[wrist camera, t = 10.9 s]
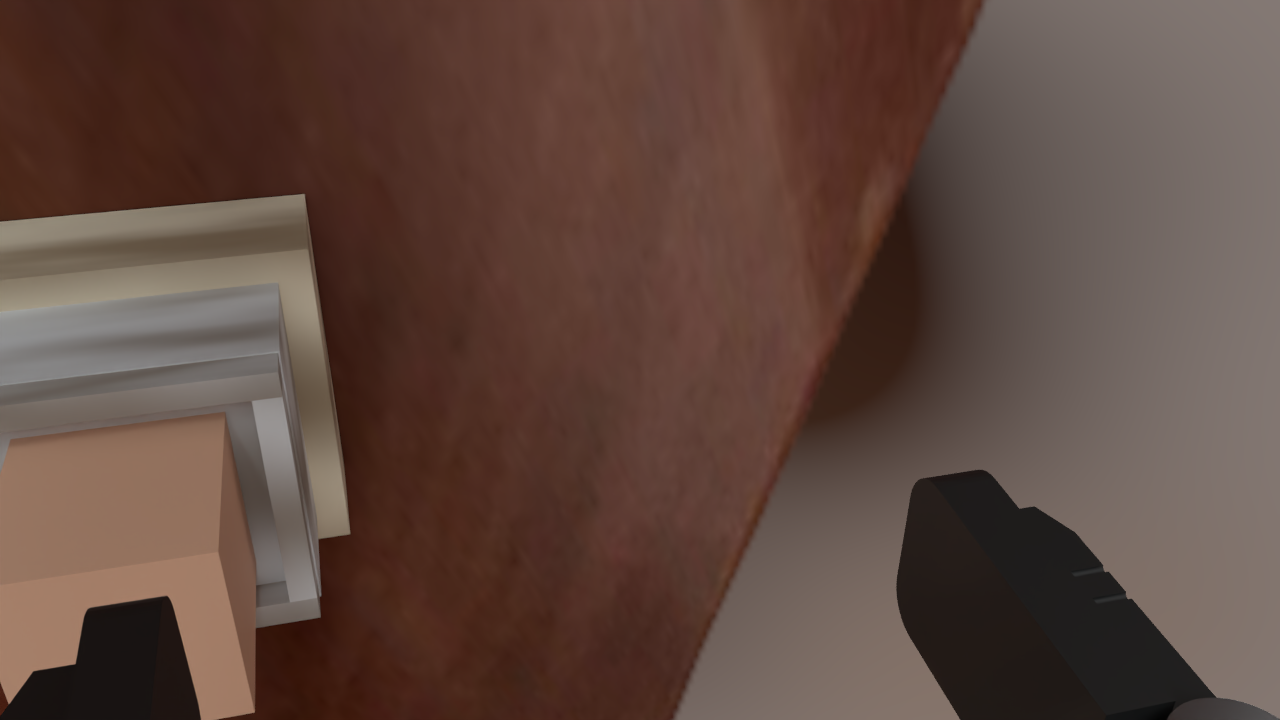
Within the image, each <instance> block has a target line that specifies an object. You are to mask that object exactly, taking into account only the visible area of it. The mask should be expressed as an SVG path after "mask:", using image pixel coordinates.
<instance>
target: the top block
mask: <svg viewBox="0 0 1280 720" xmlns="http://www.w3.org/2000/svg"><path fill="white" fill-rule="evenodd" d="M161 596H168V597H169V598H170V600H171V602H172V605H173V608H174V611H175V615H176V619H177V623H178V627H179V630H180V634H181V638H182V642H183V646H184V650H185V654H186V657H187V661H188V665H189V669H190V673H191V677H192V680H193V684H194V688H195V692H196V696H197V700H198V704H199V710H200V716H201V720H216V719H222V718H227V717H233V716H238V715H244V714H249V713H255V642H256V558H255V554H254V549H253V544H252V539H251V534H250V529H249V525H248V520H247V515H246V510H245V505H244V500H243V496H242V491H241V486H240V481H239V476H238V471H237V467H236V462H235V457H234V452H233V447H232V442H231V438H230V433H229V428H228V423H227V418H226V414H225V412H219V413H211V414H203V415H195V416H187V417H180V418H172V419H164V420H156V421H149V422H141V423H133V424H125V425H118V426H110V427H102V428H94V429H86V430H79V431H71V432H63V433H55V434H48V435H40V436H32V437H24V438H16V439H11V440H10V443H9V446H8V450H7V453H6V456H5V460H4V463H3V466H2V470H1V473H0V682H1V685H2V688H3V690H4V693H5V695H6V698H7V701H8V703H9V704H10V702H11V701H12V700H13V698H14V697H15V696H16V694H17V693H18V691H19V690H20V689H21V687H22V686H23V685H24V683H25V682H26V681H27V679H28V678H29V676H30V675H31V674H32V672H33V671H37V670H43V669H49V668H55V667H61V666H67V665H73V664H76V659H77V653H78V647H79V642H80V636H81V630H82V625H83V620H84V616H85V613H86V611H87V609H89V608H91V607H97V606H104V605H110V604H116V603H123V602H129V601H135V600H142V599H148V598H155V597H161Z"/></svg>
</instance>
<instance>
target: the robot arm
mask: <svg viewBox="0 0 1280 720" xmlns="http://www.w3.org/2000/svg"><path fill="white" fill-rule="evenodd" d="M897 600H898V606H899V610H900V614H901V618H902V621H903V623H904V626H905V628H906V631H907V633H908V634H909V636H910V638H911V640H912V641H913V643H914V644H915V646H916V648H917V650H918V651H919V653H920V654H921V656H922V658H923V659H924V661H925V663H926V664H927V666H928V668H929V669H930V671H931V672H932V674H933V675H934V677H935V679H936V681H937V682H938V684H939V685H940V687H941V689H942V690H943V692H944V694H945V695H946V697H947V698H948V700H949V701H950V703H951V705H952V706H953V708H954V710H955V711H956V713H957V715H958V716H959V718H960V720H1280V719H1279V718H1277V717H1275V716H1274V715H1272V714H1270V713H1268V712H1266V711H1264V710H1262V709H1260V708H1258V707H1255V706H1253V705H1250V704H1247V703H1244V702H1240V701H1236V700H1231V699H1223V698H1217V697H1216V696H1215V695H1214V694H1213V693H1212V692H1211V691H1210V690H1209V689H1208V687H1207V686H1206V685H1205V684H1204V683H1203V682H1202V681H1201V679H1200V678H1199V677H1198V676H1197V675H1196V673H1195V672H1194V671H1193V670H1192V669H1191V667H1190V666H1189V665H1188V664H1187V663H1186V662H1185V660H1184V659H1183V658H1182V657H1181V656H1180V655H1179V653H1178V652H1177V651H1176V650H1175V649H1174V648H1173V646H1171V644H1170V643H1169V642H1168V641H1167V639H1166V638H1165V637H1164V636H1163V635H1162V634H1161V632H1160V631H1159V630H1158V629H1157V628H1156V627H1155V626H1154V624H1152V622H1151V621H1150V620H1149V618H1148V617H1147V616H1146V615H1145V614H1144V612H1143V611H1142V610H1141V609H1140V608H1139V607H1138V606H1137V604H1136V603H1135V602H1134V601H1133V600H1132V599H1127V597H1126V591H1125V590H1124V589H1123V588H1122V587H1121V586H1120V584H1119V583H1118V582H1117V581H1116V580H1115V579H1114V578H1113V576H1112V575H1111V574H1110V573H1109V572H1104V570H1103V565H1102V563H1101V562H1100V561H1099V560H1098V559H1097V557H1096V556H1095V555H1094V554H1093V553H1092V552H1091V550H1090V549H1089V548H1088V547H1087V546H1086V545H1085V544H1084V543H1083V541H1082V540H1081V539H1080V538H1079V536H1078V535H1077V534H1076V533H1075V532H1074V531H1072V530H1070V529H1069V528H1067V527H1065V526H1064V525H1063V524H1061V523H1059V522H1058V521H1056V520H1055V519H1053V518H1052V517H1050V516H1048V515H1047V514H1045V513H1044V512H1042V511H1041V510H1039V509H1037V508H1036V507H1028V508H1022V509H1019V508H1018V507H1017V505H1016V504H1015V503H1014V502H1013V501H1012V499H1011V498H1010V497H1009V496H1008V494H1007V493H1006V492H1005V491H1004V489H1003V488H1002V487H1001V486H1000V485H999V483H998V482H997V481H996V480H995V479H994V477H993V476H992V475H991V474H989V473H988V472H987V471H984V470H974V471H967V472H961V473H955V474H948V475H942V476H936V477H929V478H923V479H920V480H918V481H917V482H916V483H915V485H914V487H913V489H912V493H911V497H910V503H909V509H908V515H907V521H906V527H905V533H904V539H903V545H902V551H901V557H900V563H899V569H898V575H897ZM0 720H201V716H200V710H199V704H198V700H197V696H196V692H195V688H194V684H193V680H192V677H191V673H190V669H189V665H188V661H187V657H186V654H185V650H184V646H183V642H182V638H181V634H180V630H179V627H178V623H177V619H176V615H175V611H174V608H173V605H172V602H171V600H170V598H169V597H168V596H161V597H155V598H148V599H142V600H135V601H129V602H123V603H116V604H110V605H104V606H97V607H91V608H89V609H87V611H86V613H85V616H84V620H83V625H82V630H81V636H80V642H79V647H78V653H77V659H76V664H73V665H67V666H61V667H55V668H49V669H43V670H37V671H33V672H32V674H31V675H30V676H29V678H28V679H27V681H26V682H25V683H24V685H23V686H22V687H21V689H20V690H19V691H18V693H17V694H16V696H15V697H14V698H13V700H12V701H11V702H10V704H9V705H8V706H7V708H6V709H5V711H4V712H3V713H2V715H1V716H0Z"/></svg>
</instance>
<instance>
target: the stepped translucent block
mask: <svg viewBox="0 0 1280 720" xmlns="http://www.w3.org/2000/svg"><path fill="white" fill-rule="evenodd" d="M219 412H225V414H226V418H227V423H228V428H229V433H230V438H231V442H232V447H233V452H234V457H235V462H236V467H237V471H238V476H239V481H240V486H241V491H242V496H243V500H244V505H245V510H246V515H247V520H248V525H249V529H250V534H251V539H252V544H253V549H254V554H255V558H256V628H260V627H266V626H272V625H278V624H284V623H290V622H296V621H302V620H308V619H314V618H320V617H321V613H320V596H321V580H320V562H319V544H318V539H322V538H329V537H335V536H342V535H348V534H350V524H349V513H348V502H347V490H346V479H345V468H344V460H343V454H342V447H341V440H340V433H339V426H338V419H337V413H336V406H335V399H334V392H333V385H332V378H331V372H330V365H329V358H328V351H327V344H326V337H325V331H324V324H323V317H322V310H321V303H320V296H319V290H318V283H317V276H316V269H315V262H314V255H313V249H312V242H311V235H310V228H309V221H308V214H307V208H306V201H305V194H299V195H288V196H277V197H266V198H255V199H244V200H233V201H222V202H211V203H200V204H189V205H178V206H167V207H156V208H146V209H135V210H124V211H113V212H102V213H91V214H80V215H69V216H58V217H47V218H36V219H25V220H14V221H3V222H0V473H1V470H2V466H3V463H4V460H5V456H6V453H7V450H8V446H9V443H10V440H11V439H16V438H24V437H32V436H40V435H48V434H55V433H63V432H71V431H79V430H86V429H94V428H102V427H110V426H118V425H125V424H133V423H141V422H149V421H156V420H164V419H172V418H180V417H187V416H195V415H203V414H211V413H219Z"/></svg>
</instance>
